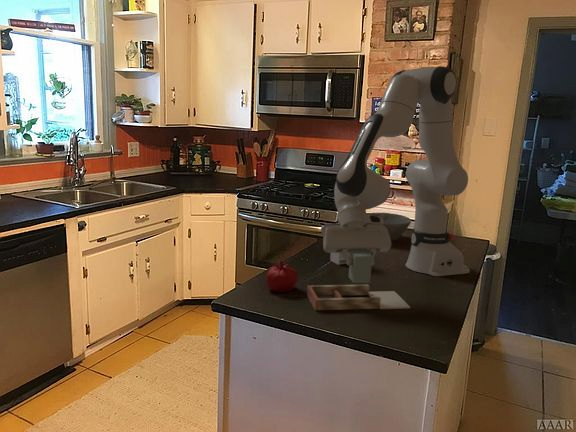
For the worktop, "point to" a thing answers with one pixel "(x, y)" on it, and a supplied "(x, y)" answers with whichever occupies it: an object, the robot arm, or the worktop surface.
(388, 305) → the pad
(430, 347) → the worktop surface
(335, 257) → the syrup box
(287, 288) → the pomegranate
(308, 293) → the box
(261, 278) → the worktop surface
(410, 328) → the worktop surface
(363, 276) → the grey-green block
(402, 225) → the ceramic bowl
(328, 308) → the wooden divided tray
